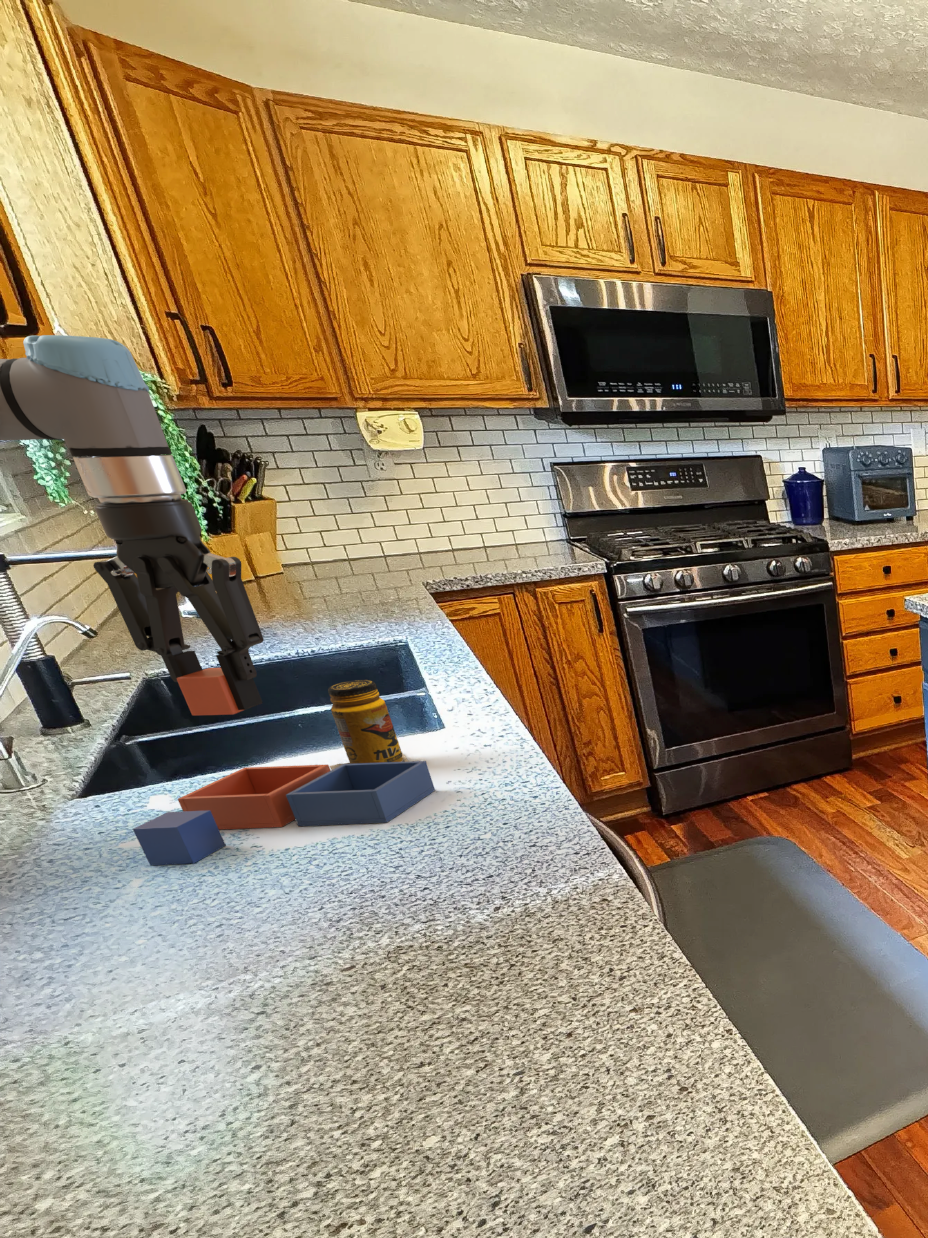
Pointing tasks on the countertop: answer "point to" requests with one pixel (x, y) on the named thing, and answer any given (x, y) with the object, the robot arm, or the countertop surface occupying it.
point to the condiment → (364, 723)
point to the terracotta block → (208, 693)
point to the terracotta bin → (252, 796)
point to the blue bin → (361, 793)
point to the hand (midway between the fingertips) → (227, 706)
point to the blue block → (179, 837)
